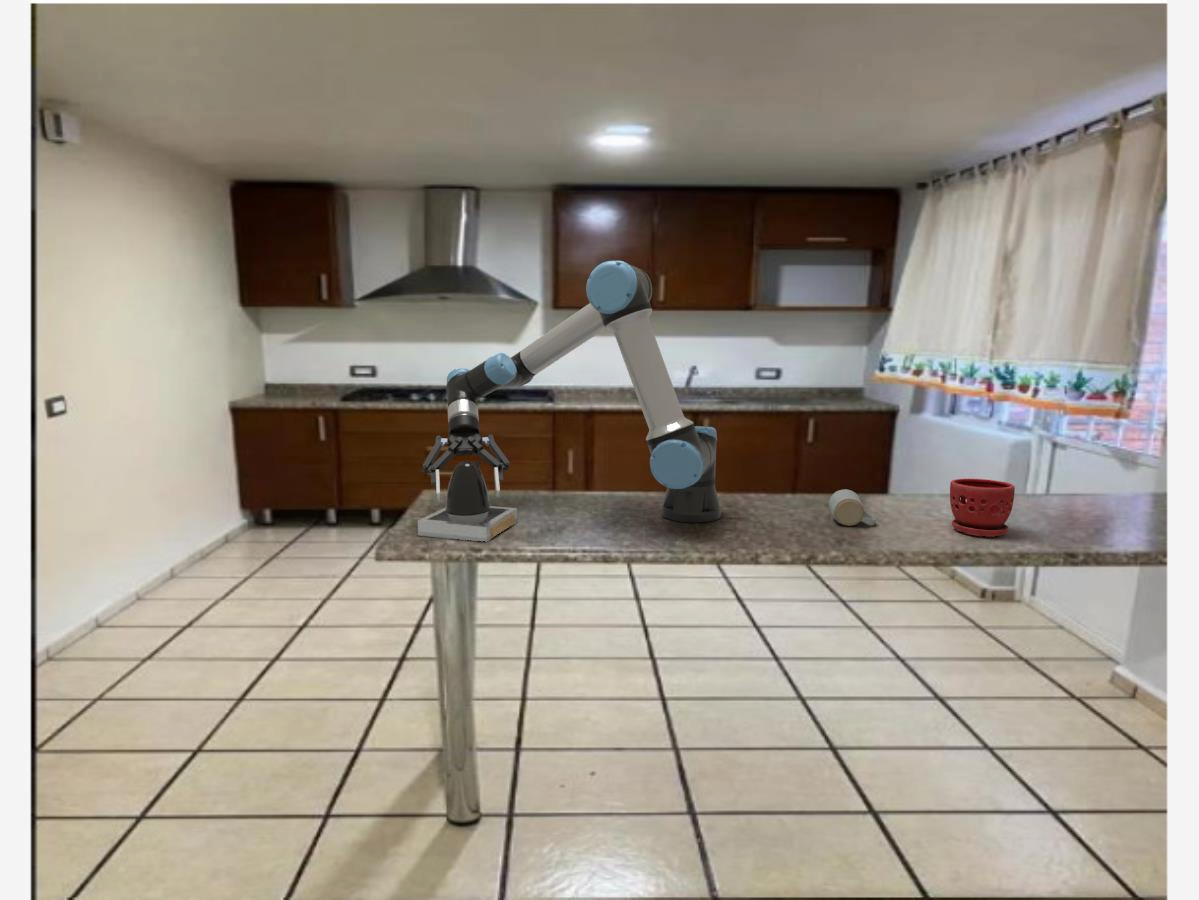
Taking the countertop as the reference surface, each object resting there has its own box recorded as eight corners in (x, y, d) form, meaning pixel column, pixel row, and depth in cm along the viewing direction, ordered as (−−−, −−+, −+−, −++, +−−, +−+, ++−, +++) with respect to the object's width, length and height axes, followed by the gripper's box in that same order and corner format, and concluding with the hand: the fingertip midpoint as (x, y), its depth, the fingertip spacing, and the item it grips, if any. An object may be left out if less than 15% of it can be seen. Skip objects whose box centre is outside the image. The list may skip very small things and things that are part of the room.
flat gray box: (518, 522, 162) (518, 508, 162) (488, 542, 146) (487, 527, 145) (453, 516, 167) (452, 502, 166) (416, 535, 151) (416, 520, 150)
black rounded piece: (498, 521, 159) (497, 459, 156) (474, 533, 150) (472, 466, 147) (463, 516, 163) (461, 455, 161) (437, 527, 154) (434, 463, 151)
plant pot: (1016, 531, 157) (1021, 482, 155) (1000, 543, 148) (1006, 491, 146) (956, 521, 166) (961, 474, 164) (938, 531, 157) (942, 482, 155)
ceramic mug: (832, 526, 161) (835, 495, 159) (827, 517, 168) (830, 488, 167) (878, 529, 159) (882, 498, 157) (871, 520, 167) (874, 490, 165)
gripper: (512, 430, 172) (520, 500, 160) (412, 432, 166) (413, 506, 154) (514, 412, 166) (523, 483, 154) (411, 414, 160) (411, 488, 148)
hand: (468, 495), depth 154 cm, fingers open, 13 cm apart
